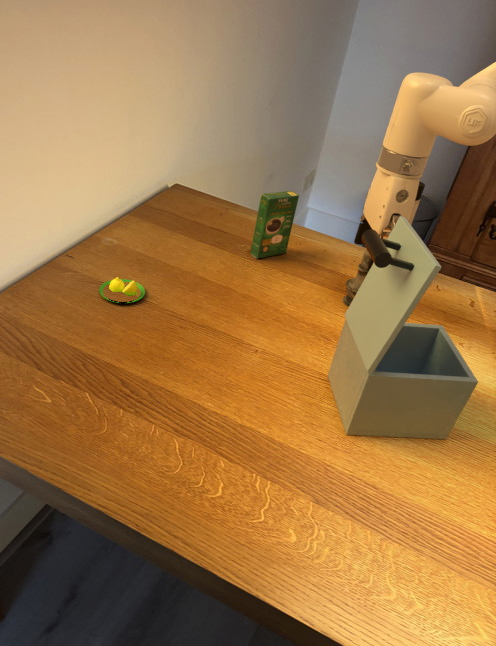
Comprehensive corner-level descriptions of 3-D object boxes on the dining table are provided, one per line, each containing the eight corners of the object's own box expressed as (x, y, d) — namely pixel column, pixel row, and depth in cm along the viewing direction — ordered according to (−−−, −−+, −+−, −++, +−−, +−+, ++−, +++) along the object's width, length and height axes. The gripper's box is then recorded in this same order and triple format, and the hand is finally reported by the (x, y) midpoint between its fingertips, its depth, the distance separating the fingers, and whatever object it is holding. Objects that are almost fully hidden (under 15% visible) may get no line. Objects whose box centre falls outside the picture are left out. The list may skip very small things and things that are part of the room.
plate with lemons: (150, 286, 100) (150, 273, 98) (137, 309, 94) (138, 295, 92) (107, 278, 100) (107, 265, 99) (92, 300, 94) (92, 286, 92)
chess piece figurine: (338, 305, 103) (355, 247, 95) (344, 291, 107) (361, 234, 99) (368, 314, 101) (389, 256, 94) (373, 299, 106) (393, 243, 98)
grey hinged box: (416, 380, 87) (442, 325, 80) (446, 439, 77) (478, 381, 71) (327, 375, 86) (345, 318, 79) (345, 434, 76) (368, 375, 69)
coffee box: (279, 247, 118) (291, 188, 110) (287, 253, 116) (300, 194, 108) (249, 253, 114) (259, 193, 106) (257, 260, 113) (268, 198, 104)
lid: (405, 217, 69) (364, 204, 68) (442, 267, 59) (395, 253, 58) (349, 316, 79) (312, 306, 77) (372, 373, 69) (331, 363, 67)
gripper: (443, 184, 81) (403, 283, 92) (407, 146, 94) (375, 237, 105) (395, 178, 80) (360, 279, 91) (365, 141, 93) (338, 233, 104)
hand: (368, 256), depth 98 cm, fingers open, 9 cm apart
